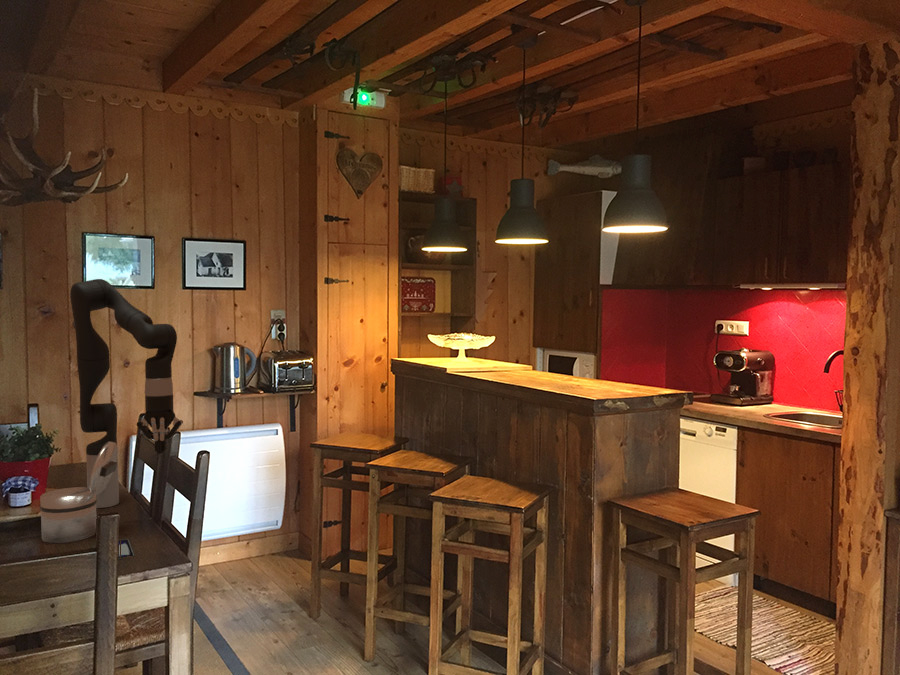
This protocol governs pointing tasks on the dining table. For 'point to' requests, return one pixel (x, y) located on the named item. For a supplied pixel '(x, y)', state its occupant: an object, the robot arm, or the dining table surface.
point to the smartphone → (125, 548)
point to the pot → (68, 514)
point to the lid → (103, 467)
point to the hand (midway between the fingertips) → (160, 453)
